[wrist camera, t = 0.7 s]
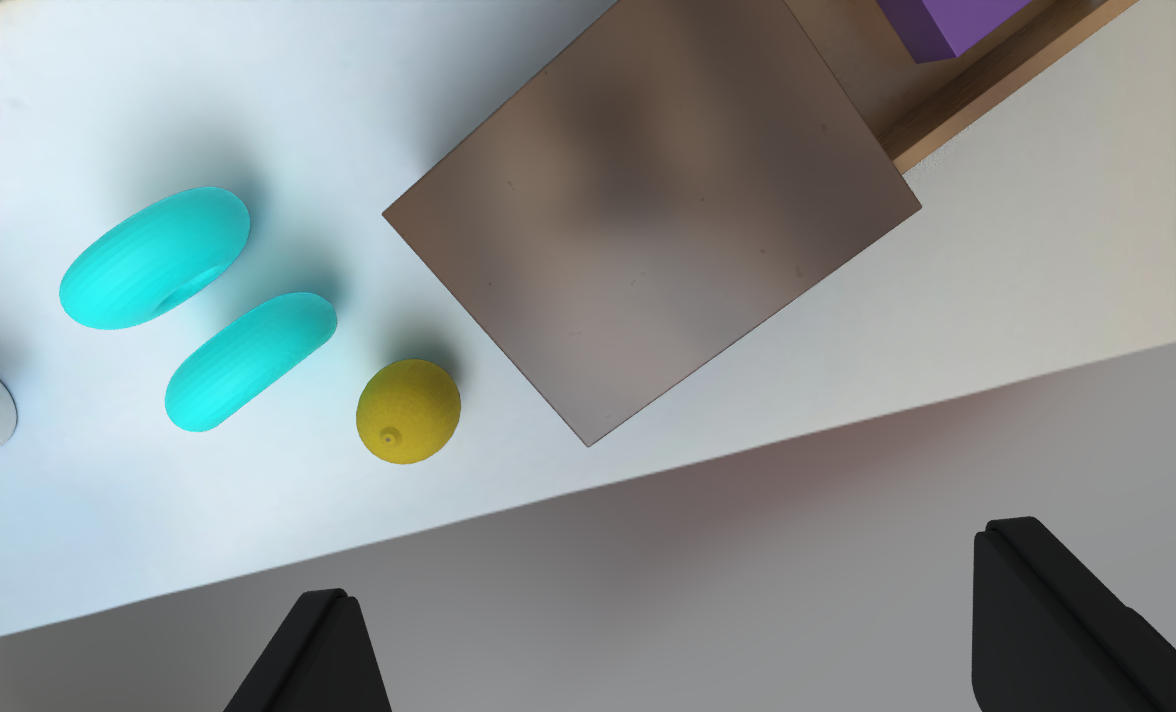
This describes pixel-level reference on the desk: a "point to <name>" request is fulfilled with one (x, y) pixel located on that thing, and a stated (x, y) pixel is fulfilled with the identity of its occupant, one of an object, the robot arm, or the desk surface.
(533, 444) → the desk surface
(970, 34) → the purple block
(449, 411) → the lemon
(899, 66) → the drawer
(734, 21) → the desk cabinet
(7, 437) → the mug
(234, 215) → the donuts
